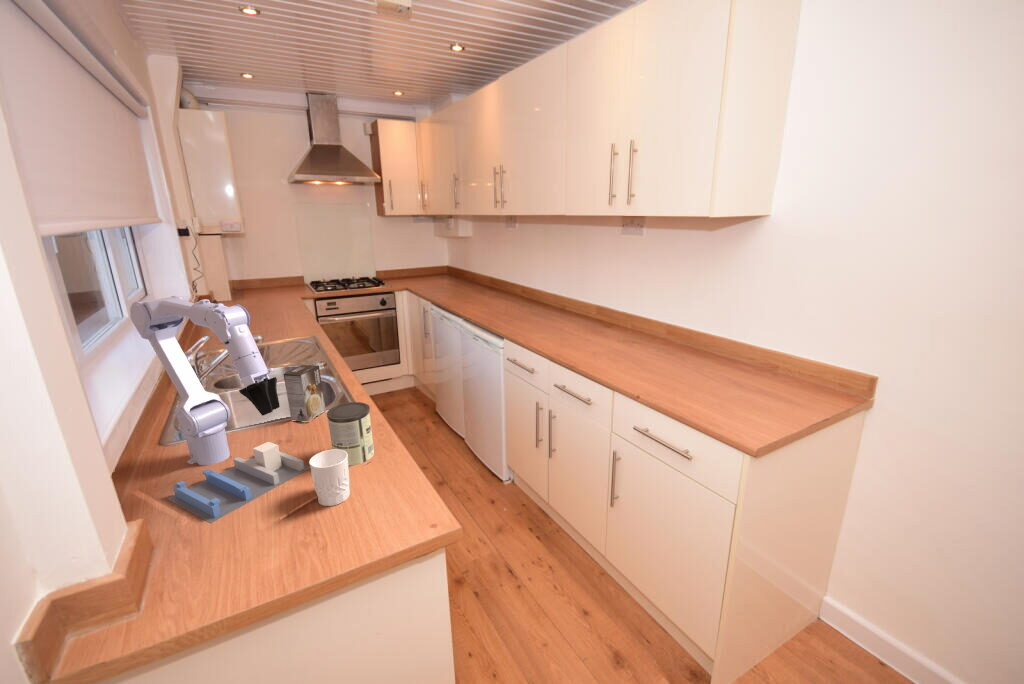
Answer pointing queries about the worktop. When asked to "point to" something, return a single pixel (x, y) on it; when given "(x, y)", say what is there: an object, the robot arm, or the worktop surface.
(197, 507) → the grey railed board
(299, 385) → the coffee box
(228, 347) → the robot arm
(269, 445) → the cream plug
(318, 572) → the worktop surface
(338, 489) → the white cup
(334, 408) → the coffee can
